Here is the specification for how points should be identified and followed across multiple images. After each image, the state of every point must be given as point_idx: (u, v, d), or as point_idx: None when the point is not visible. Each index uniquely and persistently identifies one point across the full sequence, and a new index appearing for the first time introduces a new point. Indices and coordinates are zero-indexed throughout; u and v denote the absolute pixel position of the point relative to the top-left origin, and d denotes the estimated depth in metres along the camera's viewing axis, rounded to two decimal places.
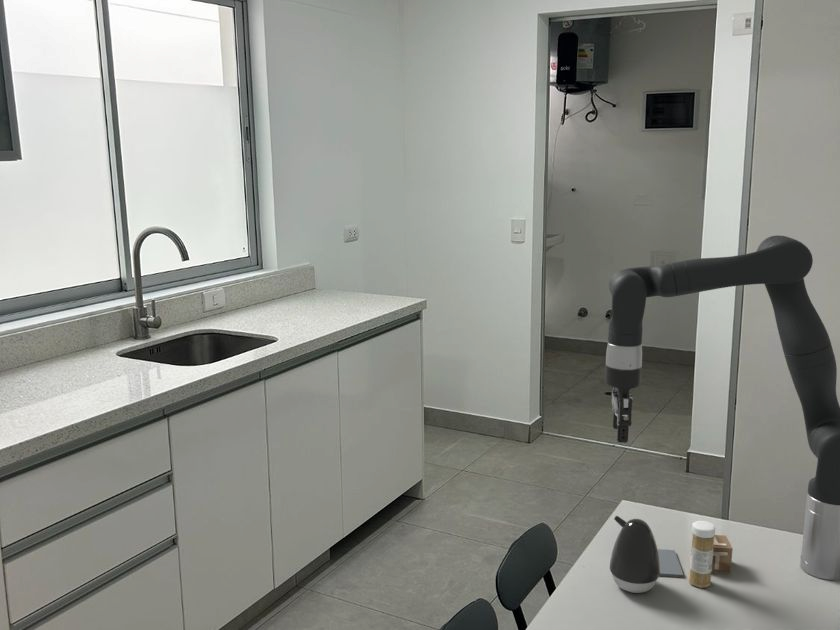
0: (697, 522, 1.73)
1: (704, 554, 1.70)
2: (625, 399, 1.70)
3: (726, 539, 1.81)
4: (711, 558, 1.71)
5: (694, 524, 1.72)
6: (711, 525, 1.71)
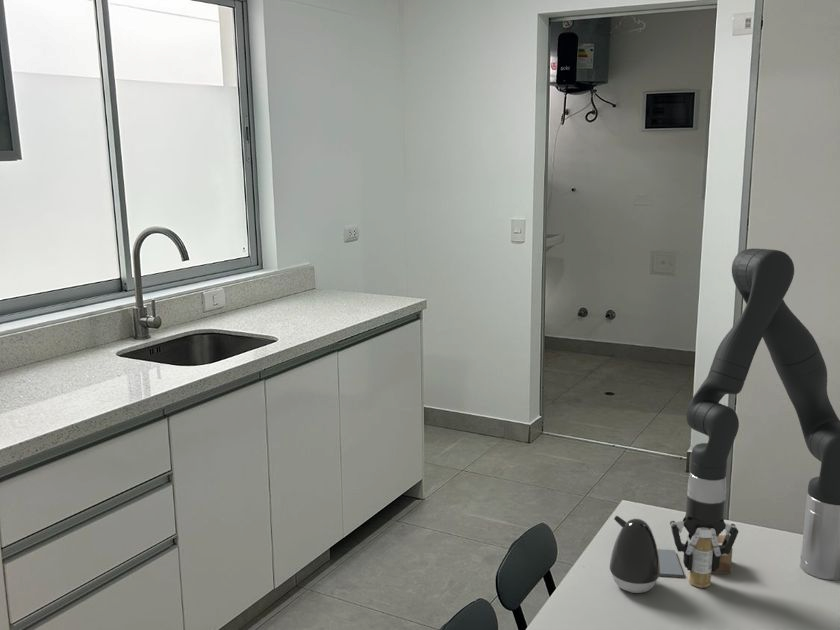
0: None
1: (704, 554, 1.70)
2: (736, 528, 1.71)
3: None
4: (711, 558, 1.71)
5: None
6: None
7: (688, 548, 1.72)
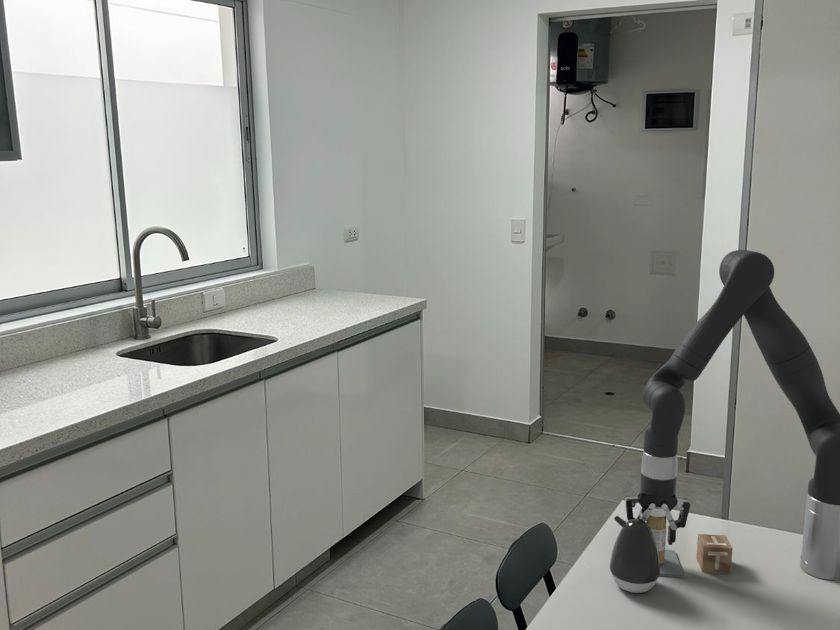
0: None
1: (657, 532, 1.79)
2: (688, 502, 1.78)
3: (726, 539, 1.81)
4: (664, 536, 1.80)
5: None
6: None
7: None
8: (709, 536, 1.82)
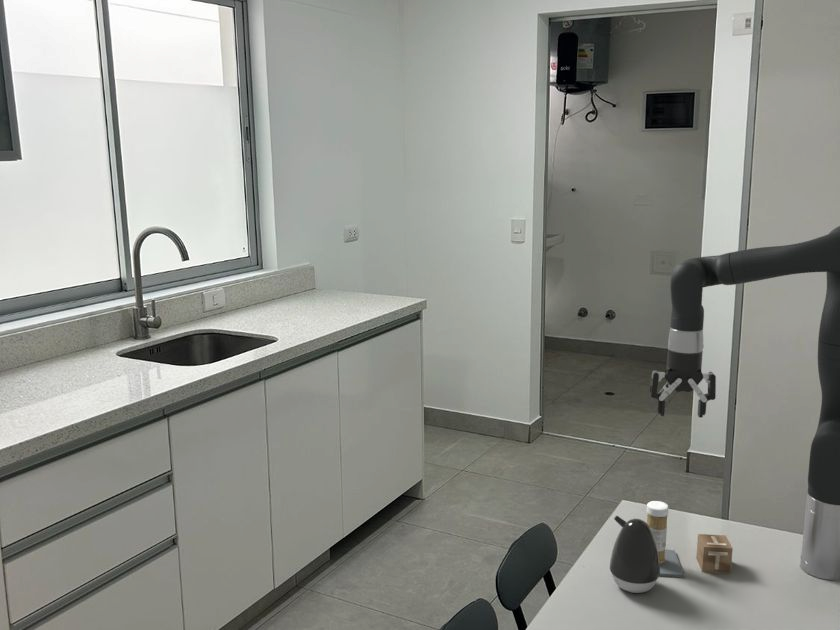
0: (651, 502, 1.81)
1: (657, 532, 1.79)
2: None
3: (726, 539, 1.81)
4: (664, 536, 1.80)
5: (648, 504, 1.80)
6: (664, 505, 1.79)
7: (661, 394, 1.87)
8: (709, 536, 1.82)
